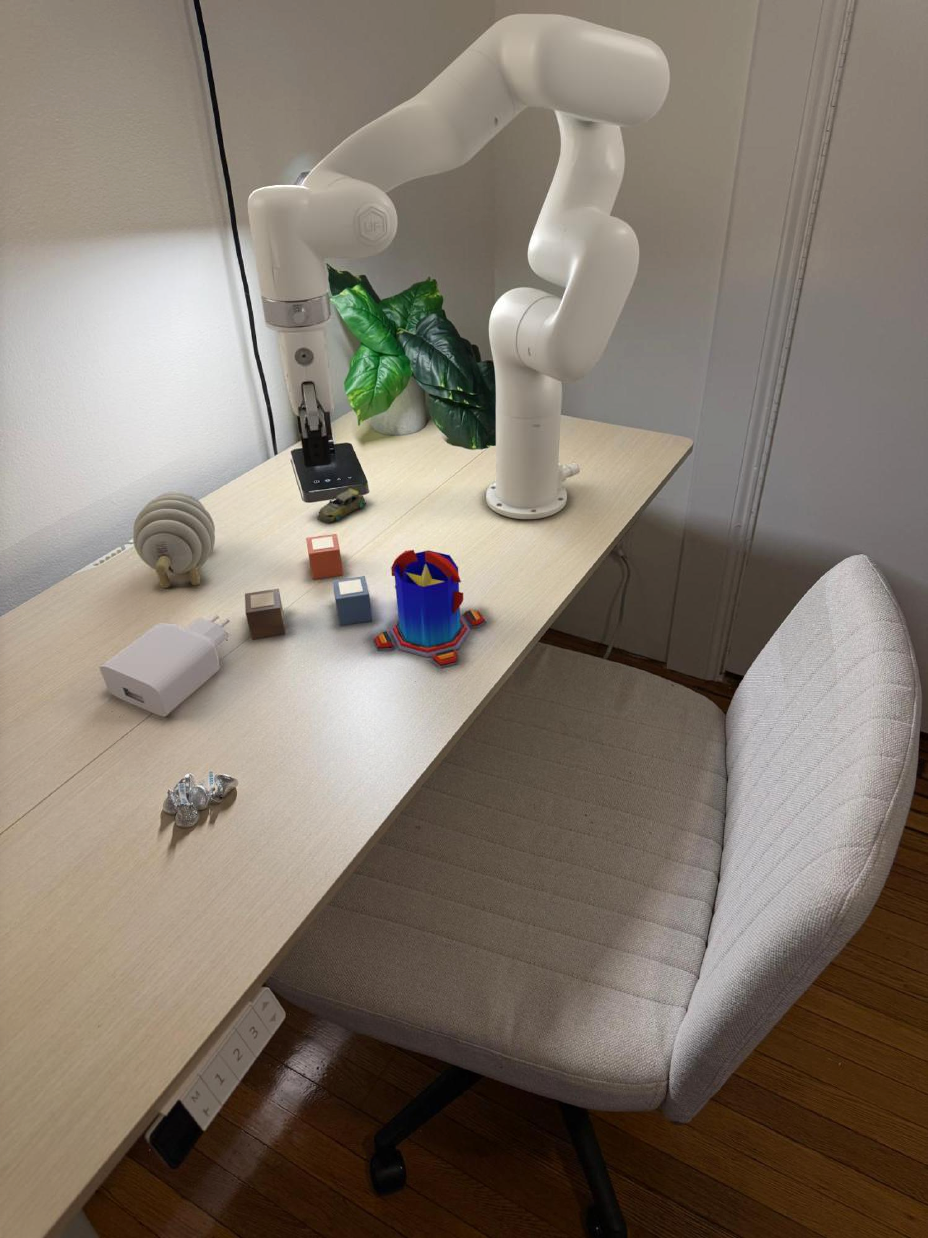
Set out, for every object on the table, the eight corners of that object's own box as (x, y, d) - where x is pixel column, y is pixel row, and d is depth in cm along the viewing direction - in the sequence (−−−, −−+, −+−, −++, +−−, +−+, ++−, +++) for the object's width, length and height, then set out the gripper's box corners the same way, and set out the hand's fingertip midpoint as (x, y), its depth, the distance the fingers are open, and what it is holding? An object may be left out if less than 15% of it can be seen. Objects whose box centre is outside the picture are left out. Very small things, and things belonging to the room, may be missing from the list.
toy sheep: (225, 536, 122) (209, 469, 115) (220, 602, 109) (201, 530, 102) (152, 545, 121) (131, 477, 114) (137, 612, 107) (113, 541, 101)
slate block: (368, 601, 108) (364, 575, 105) (372, 620, 105) (369, 593, 102) (336, 606, 107) (332, 579, 105) (339, 625, 104) (335, 598, 101)
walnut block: (284, 614, 106) (278, 587, 104) (285, 634, 103) (280, 607, 100) (251, 619, 106) (244, 592, 103) (251, 639, 102) (245, 612, 100)
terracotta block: (340, 558, 116) (336, 533, 114) (343, 574, 113) (339, 548, 110) (310, 563, 116) (306, 537, 113) (312, 579, 112) (308, 553, 110)
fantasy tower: (365, 647, 100) (355, 566, 93) (409, 595, 109) (403, 516, 102) (453, 671, 96) (449, 589, 89) (491, 615, 105) (491, 535, 98)
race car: (314, 517, 126) (311, 503, 124) (353, 497, 130) (351, 483, 129) (329, 525, 124) (327, 510, 122) (368, 504, 128) (367, 490, 127)
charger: (255, 643, 102) (167, 720, 91) (199, 623, 105) (109, 694, 95) (248, 613, 99) (157, 688, 88) (191, 593, 102) (97, 663, 92)
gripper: (337, 329, 87) (352, 475, 97) (323, 286, 100) (337, 418, 111) (266, 335, 86) (288, 482, 96) (260, 290, 99) (281, 423, 109)
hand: (314, 447), depth 103 cm, fingers open, 9 cm apart
